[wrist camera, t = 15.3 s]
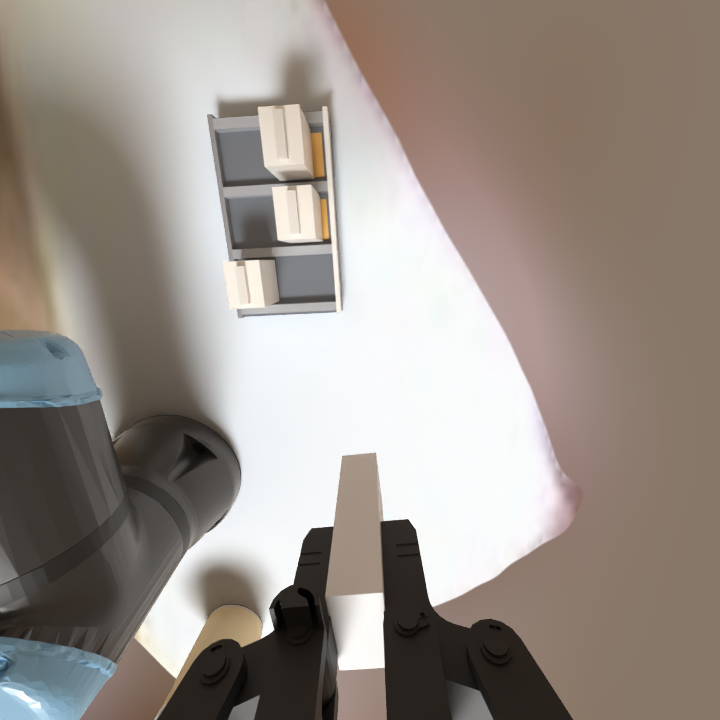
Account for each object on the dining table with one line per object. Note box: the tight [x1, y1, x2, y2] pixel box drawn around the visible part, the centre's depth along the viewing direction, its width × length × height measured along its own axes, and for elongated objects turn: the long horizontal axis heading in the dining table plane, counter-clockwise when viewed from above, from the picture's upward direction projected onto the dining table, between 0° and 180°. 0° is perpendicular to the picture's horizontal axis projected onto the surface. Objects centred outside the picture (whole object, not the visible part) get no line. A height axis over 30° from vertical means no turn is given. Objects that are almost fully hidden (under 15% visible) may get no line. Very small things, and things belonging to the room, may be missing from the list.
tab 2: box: [258, 104, 314, 181], centre depth 27 cm, size 3×4×5 cm
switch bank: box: [207, 106, 343, 318], centre depth 31 cm, size 10×17×2 cm, turn 3°
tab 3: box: [272, 185, 323, 243], centre depth 28 cm, size 3×4×5 cm
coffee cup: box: [155, 605, 262, 720], centre depth 42 cm, size 9×9×12 cm
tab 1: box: [222, 260, 279, 309], centre depth 30 cm, size 3×4×5 cm
